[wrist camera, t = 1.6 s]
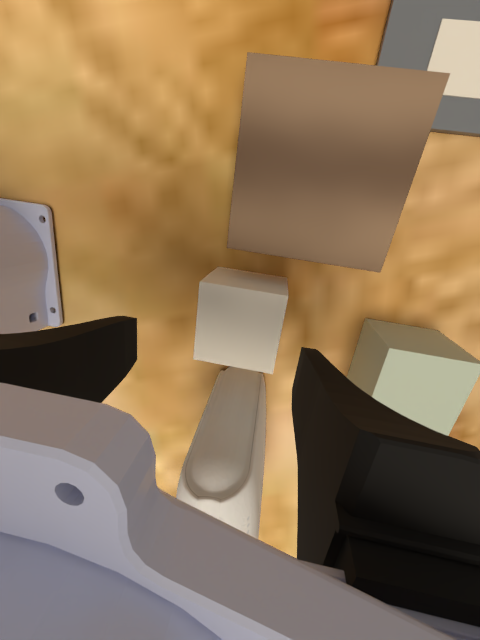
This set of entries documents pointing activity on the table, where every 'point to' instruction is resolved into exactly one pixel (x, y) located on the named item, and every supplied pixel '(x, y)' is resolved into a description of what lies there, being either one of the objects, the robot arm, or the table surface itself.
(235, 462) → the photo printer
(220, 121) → the table surface
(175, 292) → the table surface
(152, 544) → the robot arm
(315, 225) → the walnut base
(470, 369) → the sage cube
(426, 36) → the card
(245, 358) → the cream cube
